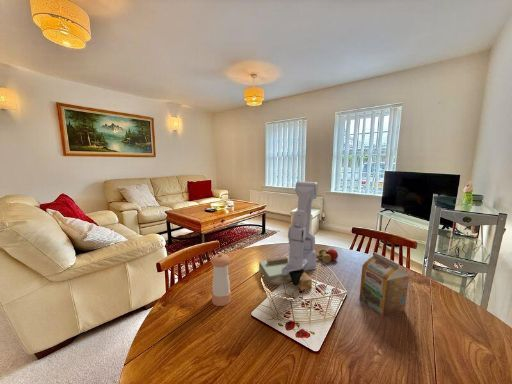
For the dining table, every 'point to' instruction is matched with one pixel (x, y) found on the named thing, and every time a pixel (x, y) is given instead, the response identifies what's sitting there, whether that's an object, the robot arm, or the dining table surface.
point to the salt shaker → (221, 280)
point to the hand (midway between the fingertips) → (295, 284)
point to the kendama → (327, 255)
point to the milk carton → (383, 285)
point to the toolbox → (275, 278)
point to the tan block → (305, 282)
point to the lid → (274, 266)
